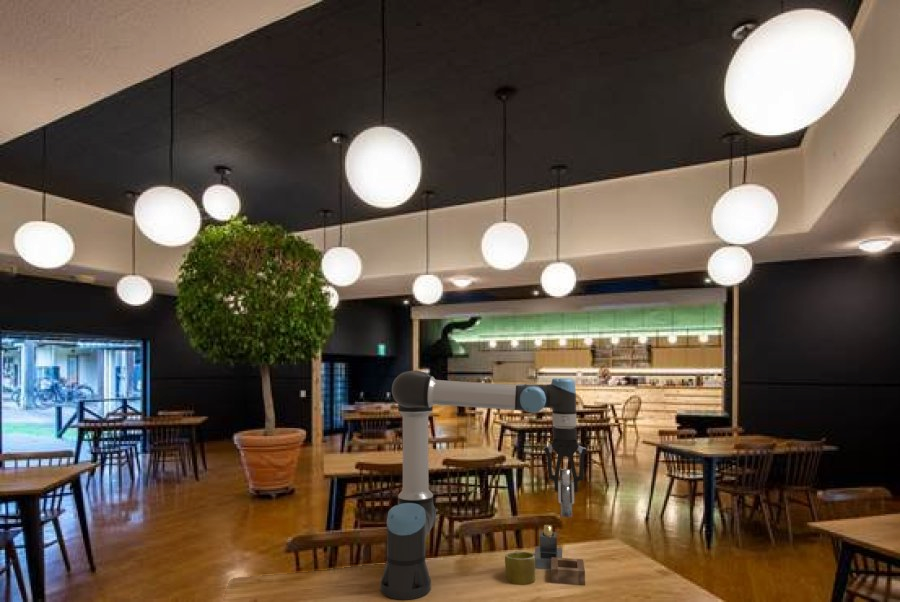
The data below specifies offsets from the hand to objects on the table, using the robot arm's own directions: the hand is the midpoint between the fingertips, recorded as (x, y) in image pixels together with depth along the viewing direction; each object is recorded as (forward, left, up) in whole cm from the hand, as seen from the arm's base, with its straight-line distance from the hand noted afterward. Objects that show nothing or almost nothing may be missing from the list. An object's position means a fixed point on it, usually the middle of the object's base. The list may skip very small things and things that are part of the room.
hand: (566, 502), depth 169 cm
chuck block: (-6, +11, -24) cm, 27 cm away
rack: (0, 0, -24) cm, 24 cm away
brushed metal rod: (0, 0, -4) cm, 4 cm away
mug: (-15, -2, -24) cm, 28 cm away
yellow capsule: (-6, +15, -19) cm, 25 cm away
